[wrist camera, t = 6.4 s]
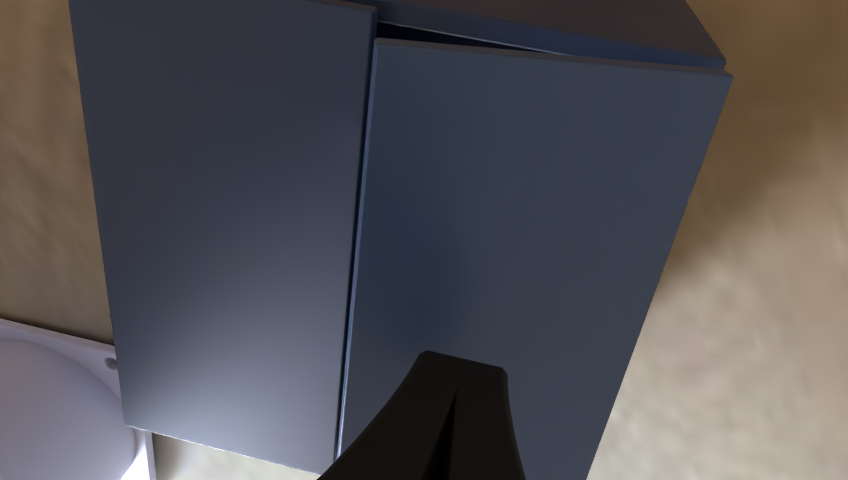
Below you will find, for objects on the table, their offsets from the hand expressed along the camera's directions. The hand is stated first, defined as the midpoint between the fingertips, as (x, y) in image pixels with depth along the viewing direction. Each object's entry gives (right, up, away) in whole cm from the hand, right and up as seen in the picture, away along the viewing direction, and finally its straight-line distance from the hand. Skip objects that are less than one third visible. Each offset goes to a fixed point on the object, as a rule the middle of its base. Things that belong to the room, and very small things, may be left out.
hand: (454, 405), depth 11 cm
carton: (-1, +5, +8) cm, 9 cm away
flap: (+1, +1, +2) cm, 2 cm away
